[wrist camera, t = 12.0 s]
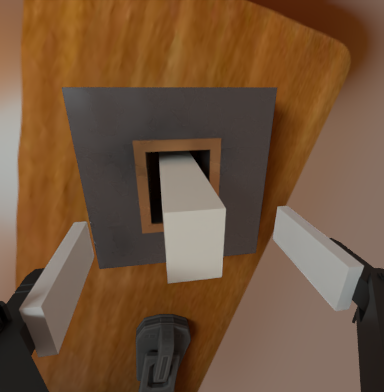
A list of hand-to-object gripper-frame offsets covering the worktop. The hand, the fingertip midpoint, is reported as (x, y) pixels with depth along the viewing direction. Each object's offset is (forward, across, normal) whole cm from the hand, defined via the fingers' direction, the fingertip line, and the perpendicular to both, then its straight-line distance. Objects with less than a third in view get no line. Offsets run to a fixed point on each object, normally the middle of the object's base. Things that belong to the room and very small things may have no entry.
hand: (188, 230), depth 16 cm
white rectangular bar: (+14, 0, 0) cm, 14 cm away
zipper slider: (+14, +4, +36) cm, 39 cm away
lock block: (+14, 0, 0) cm, 14 cm away
